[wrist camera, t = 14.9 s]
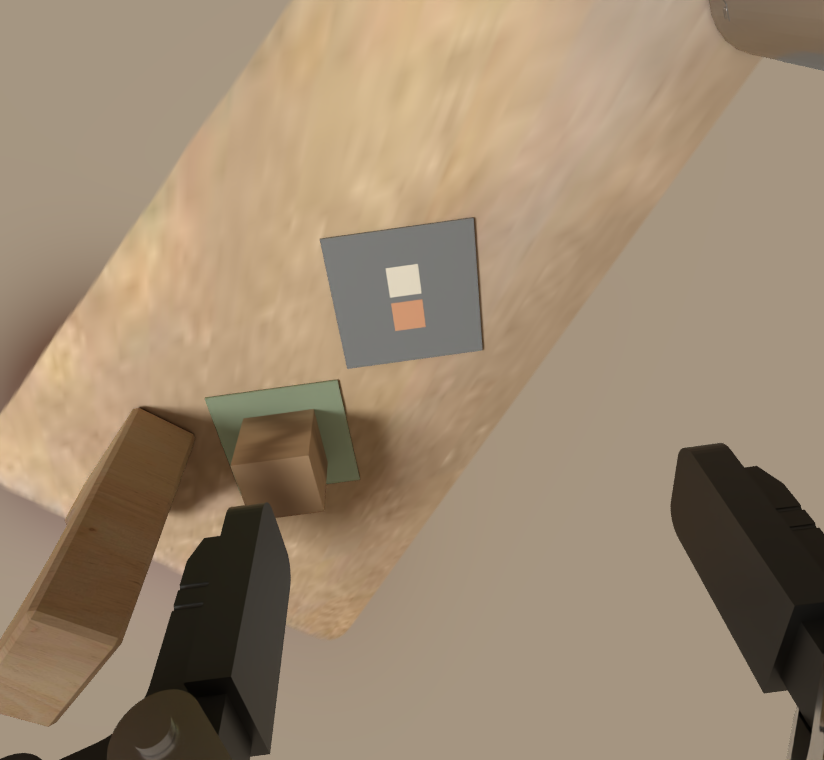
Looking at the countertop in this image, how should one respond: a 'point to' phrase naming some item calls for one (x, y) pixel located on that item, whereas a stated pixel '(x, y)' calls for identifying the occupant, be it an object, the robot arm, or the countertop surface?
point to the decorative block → (93, 572)
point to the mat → (289, 399)
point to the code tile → (405, 292)
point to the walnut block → (282, 463)
